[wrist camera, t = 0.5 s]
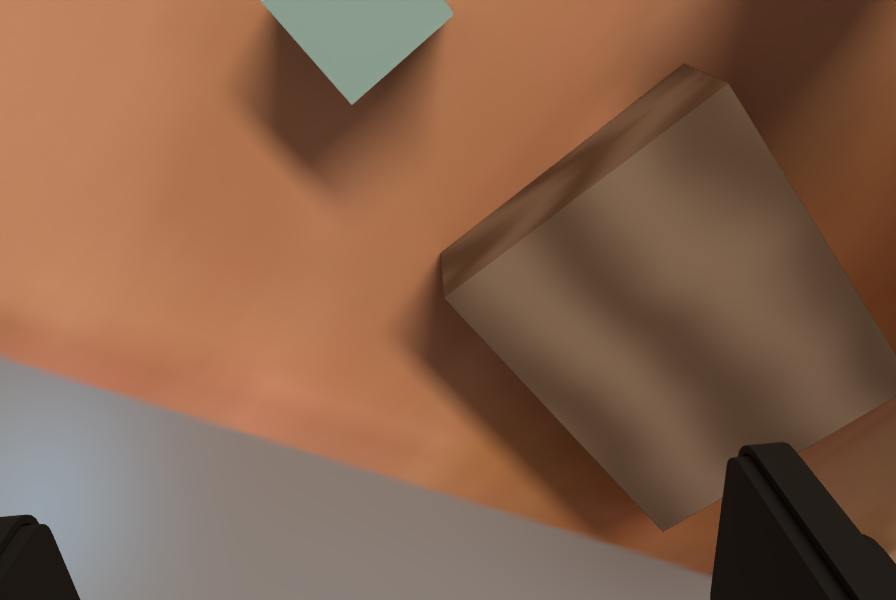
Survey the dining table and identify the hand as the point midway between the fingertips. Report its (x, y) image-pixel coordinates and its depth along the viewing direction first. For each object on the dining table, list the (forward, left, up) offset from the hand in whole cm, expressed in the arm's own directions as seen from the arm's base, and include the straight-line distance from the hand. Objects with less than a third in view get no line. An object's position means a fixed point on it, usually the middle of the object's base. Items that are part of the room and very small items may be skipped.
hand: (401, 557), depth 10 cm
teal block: (-2, -6, -25) cm, 26 cm away
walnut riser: (-4, +14, -25) cm, 29 cm away
